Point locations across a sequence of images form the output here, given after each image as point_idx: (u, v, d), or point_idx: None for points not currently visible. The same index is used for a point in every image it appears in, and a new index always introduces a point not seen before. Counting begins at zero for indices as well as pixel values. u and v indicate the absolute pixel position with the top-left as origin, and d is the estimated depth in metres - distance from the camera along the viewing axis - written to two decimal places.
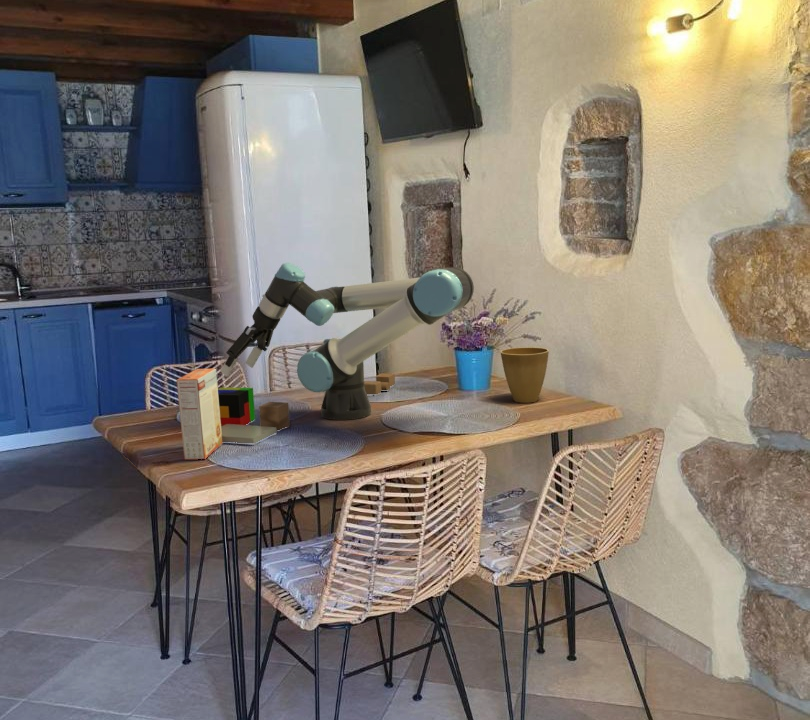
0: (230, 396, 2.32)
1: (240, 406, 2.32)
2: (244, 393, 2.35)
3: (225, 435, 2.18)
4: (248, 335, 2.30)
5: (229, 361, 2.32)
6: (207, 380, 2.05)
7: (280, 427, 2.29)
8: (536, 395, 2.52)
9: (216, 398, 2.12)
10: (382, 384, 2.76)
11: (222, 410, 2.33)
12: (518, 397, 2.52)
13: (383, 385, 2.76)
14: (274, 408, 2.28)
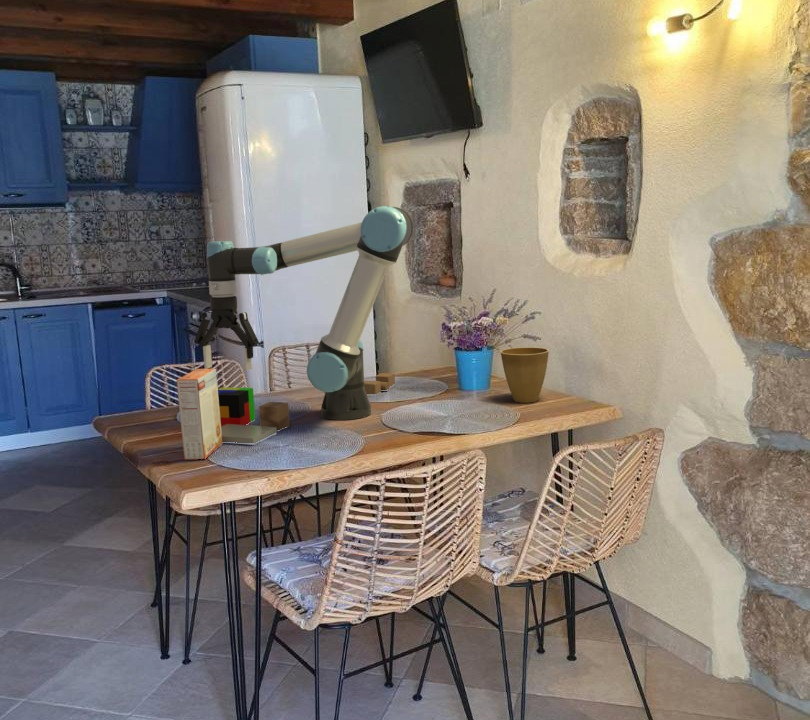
0: (230, 396, 2.32)
1: (240, 406, 2.32)
2: (244, 393, 2.35)
3: (225, 435, 2.18)
4: (247, 318, 2.32)
5: (252, 352, 2.32)
6: (207, 380, 2.05)
7: (280, 427, 2.29)
8: (536, 395, 2.52)
9: (216, 398, 2.12)
10: (381, 384, 2.76)
11: (222, 410, 2.33)
12: (518, 397, 2.52)
13: (382, 385, 2.76)
14: (274, 408, 2.28)
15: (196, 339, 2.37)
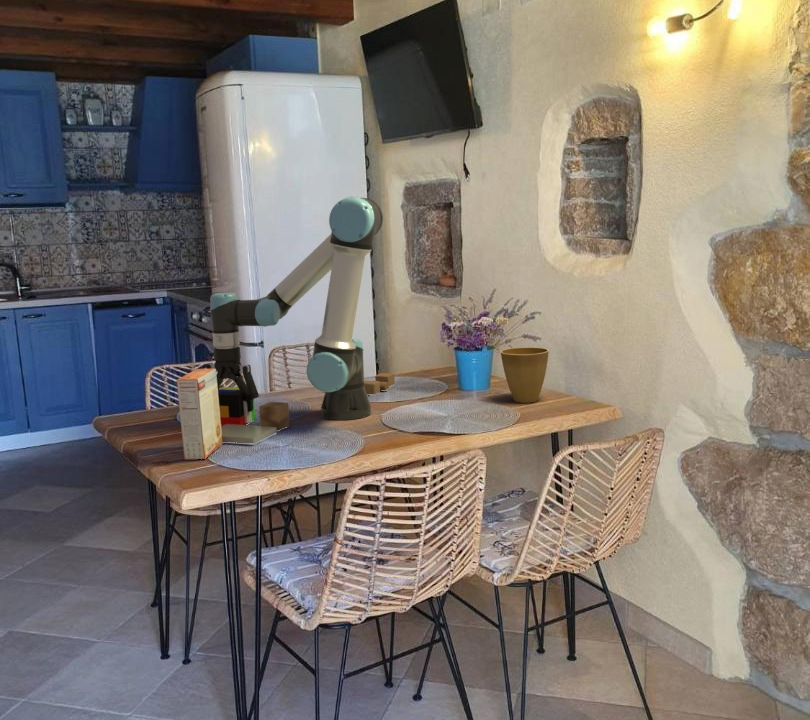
0: (230, 396, 2.32)
1: (239, 406, 2.32)
2: None
3: (225, 435, 2.18)
4: (250, 371, 2.34)
5: (252, 405, 2.35)
6: (207, 380, 2.05)
7: (280, 427, 2.29)
8: (536, 395, 2.52)
9: (216, 398, 2.12)
10: (381, 384, 2.77)
11: (222, 409, 2.33)
12: (518, 397, 2.52)
13: (381, 385, 2.76)
14: (274, 408, 2.28)
15: None
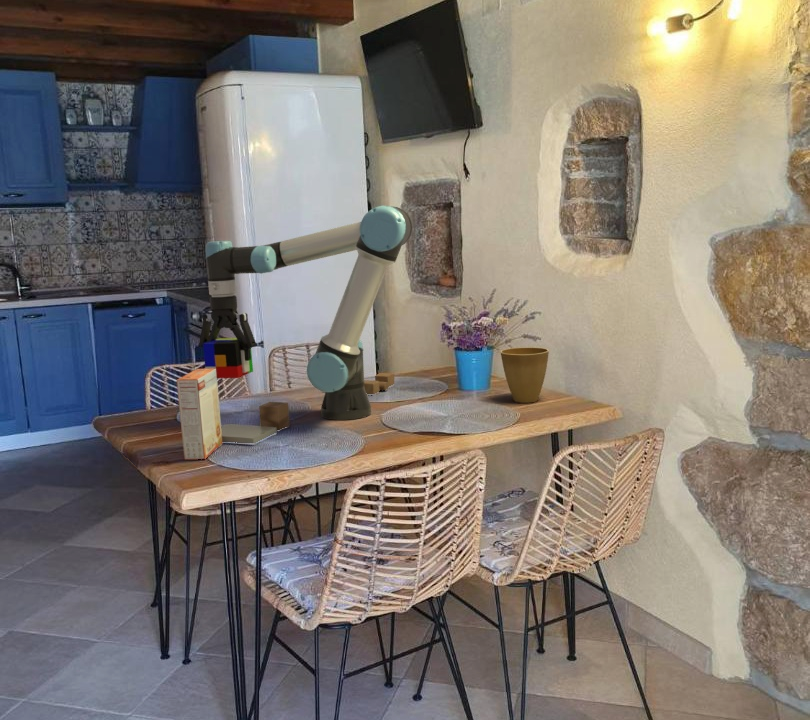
0: (227, 344, 2.29)
1: (237, 355, 2.30)
2: None
3: (225, 435, 2.18)
4: (246, 320, 2.32)
5: (249, 354, 2.33)
6: (207, 380, 2.05)
7: (280, 427, 2.29)
8: (536, 395, 2.52)
9: (216, 398, 2.12)
10: (380, 383, 2.77)
11: (219, 359, 2.31)
12: (518, 397, 2.52)
13: (381, 385, 2.76)
14: (274, 408, 2.28)
15: (200, 342, 2.37)
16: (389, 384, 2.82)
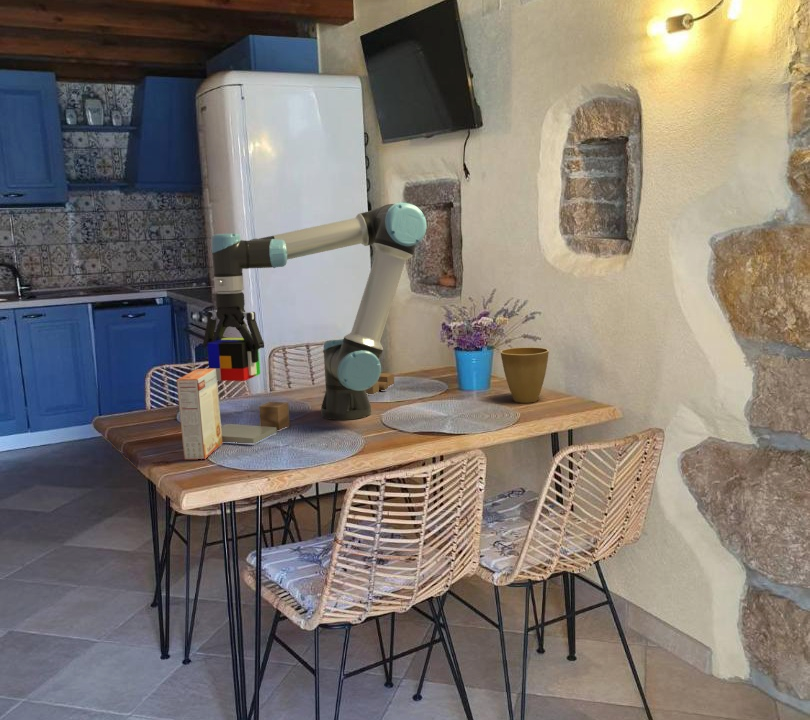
0: (233, 345, 2.13)
1: (243, 356, 2.14)
2: None
3: (225, 435, 2.18)
4: (254, 319, 2.16)
5: (257, 355, 2.17)
6: (207, 380, 2.05)
7: (280, 427, 2.29)
8: (536, 395, 2.52)
9: (216, 398, 2.12)
10: (380, 384, 2.77)
11: (224, 360, 2.15)
12: (518, 397, 2.52)
13: (380, 385, 2.77)
14: (274, 408, 2.28)
15: (204, 342, 2.21)
16: (389, 384, 2.82)
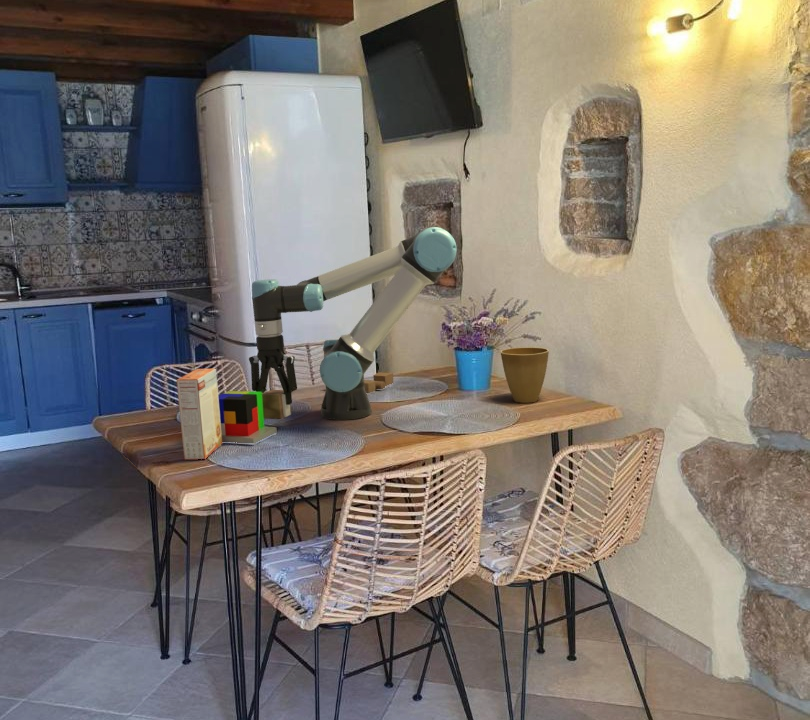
0: (237, 401, 2.16)
1: (247, 412, 2.16)
2: (252, 397, 2.19)
3: (225, 435, 2.18)
4: (293, 363, 2.28)
5: (290, 398, 2.29)
6: (207, 380, 2.05)
7: (282, 415, 2.29)
8: (536, 395, 2.52)
9: (216, 398, 2.12)
10: (377, 383, 2.78)
11: (228, 415, 2.17)
12: (518, 397, 2.52)
13: (377, 384, 2.78)
14: (275, 396, 2.27)
15: (253, 386, 2.32)
16: (387, 384, 2.83)
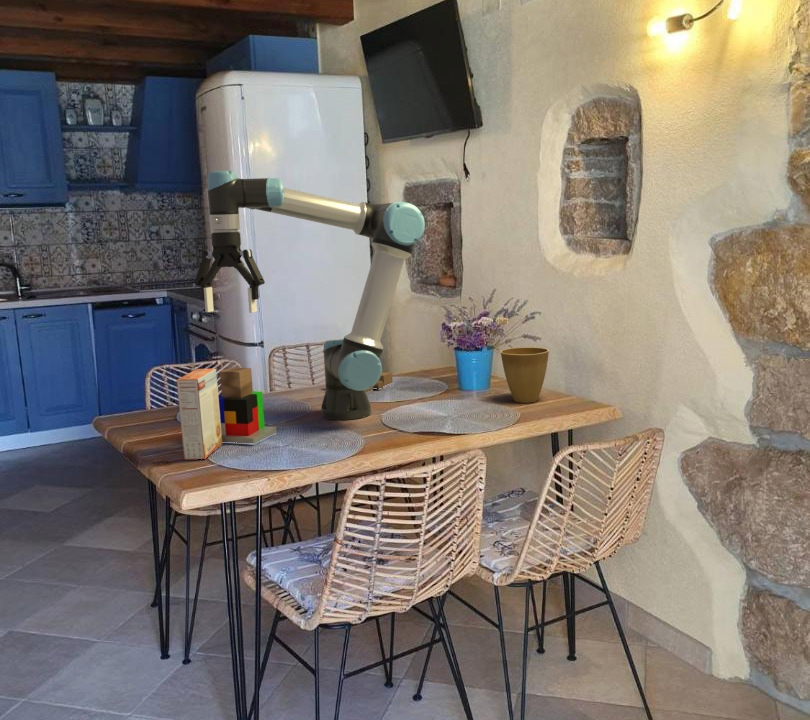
0: (237, 400, 2.16)
1: (248, 411, 2.16)
2: (252, 397, 2.19)
3: (225, 435, 2.18)
4: (251, 256, 2.13)
5: (257, 292, 2.13)
6: (207, 380, 2.05)
7: (242, 393, 2.18)
8: (536, 395, 2.52)
9: (216, 398, 2.12)
10: None
11: (229, 415, 2.17)
12: (518, 397, 2.52)
13: (375, 384, 2.79)
14: (236, 373, 2.16)
15: (196, 280, 2.18)
16: (386, 383, 2.84)
